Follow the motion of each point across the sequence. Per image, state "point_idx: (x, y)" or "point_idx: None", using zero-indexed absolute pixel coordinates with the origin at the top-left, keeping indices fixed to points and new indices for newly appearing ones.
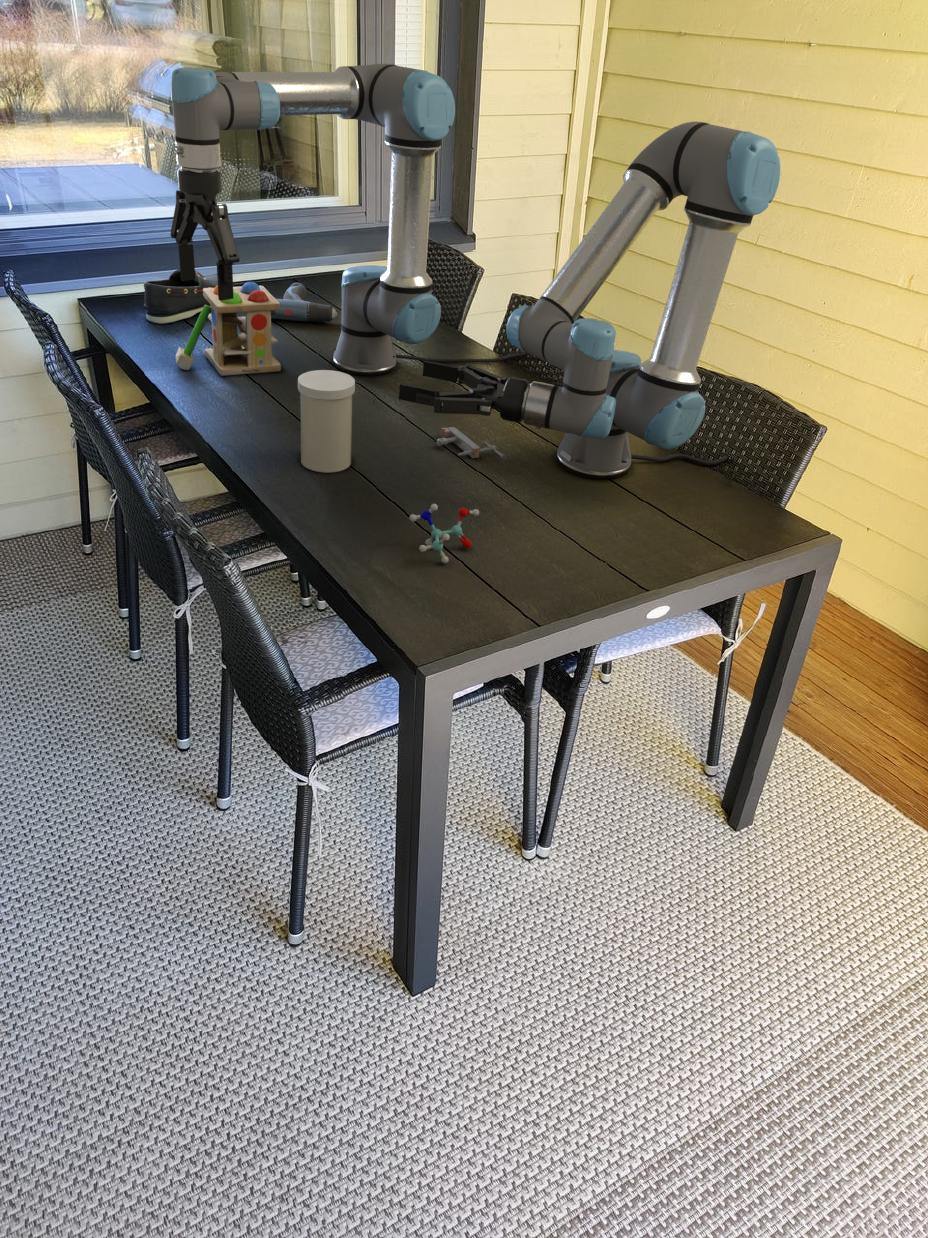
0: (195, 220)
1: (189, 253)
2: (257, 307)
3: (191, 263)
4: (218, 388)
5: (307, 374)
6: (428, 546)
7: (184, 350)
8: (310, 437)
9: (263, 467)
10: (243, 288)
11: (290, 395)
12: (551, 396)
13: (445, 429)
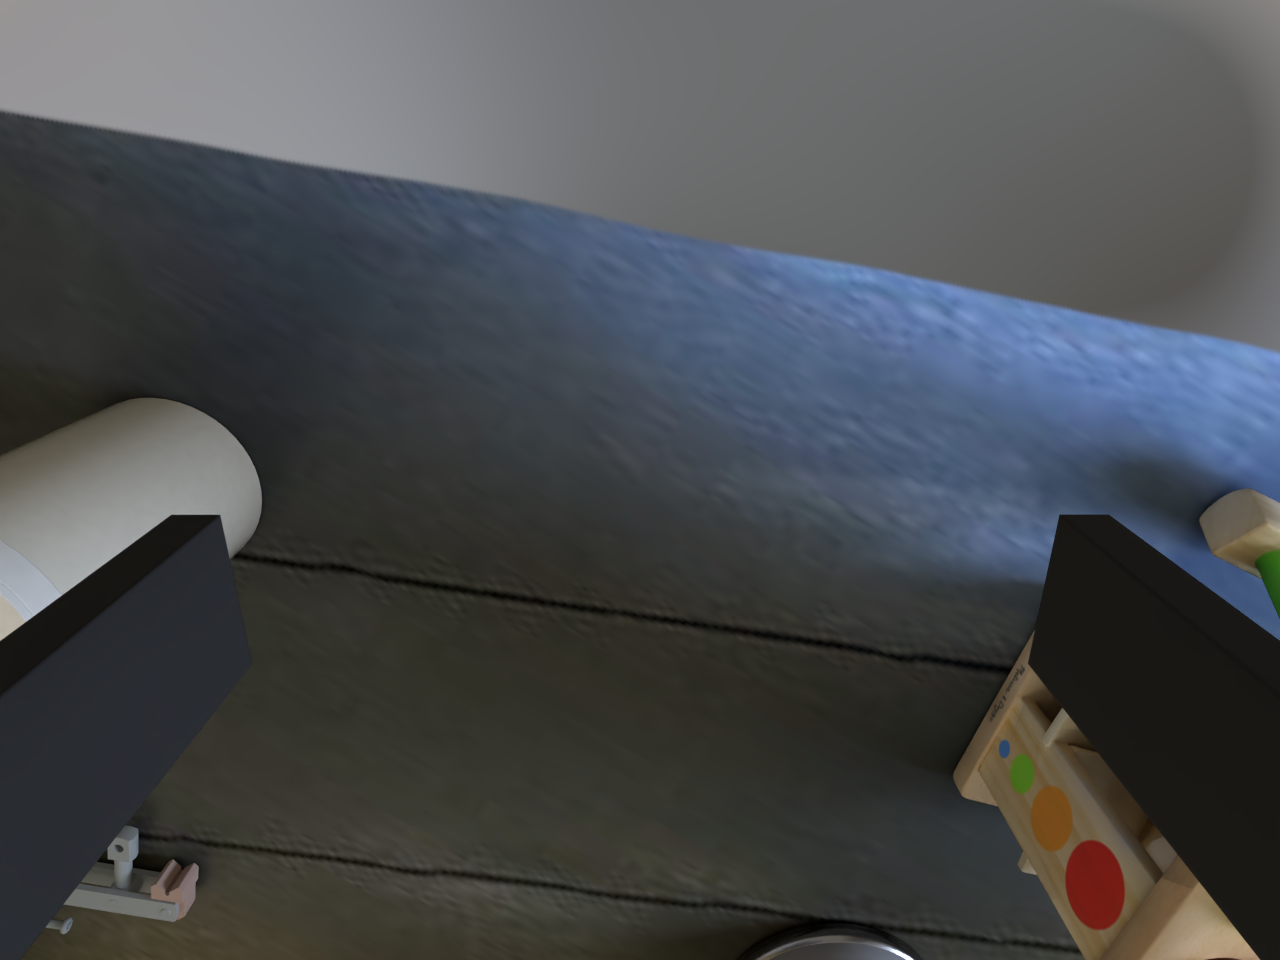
0: None
1: (1264, 871)
2: (1133, 944)
3: (1147, 763)
4: (968, 519)
5: (8, 634)
6: None
7: None
8: (28, 443)
9: (208, 263)
10: None
11: (747, 692)
12: None
13: (169, 894)
